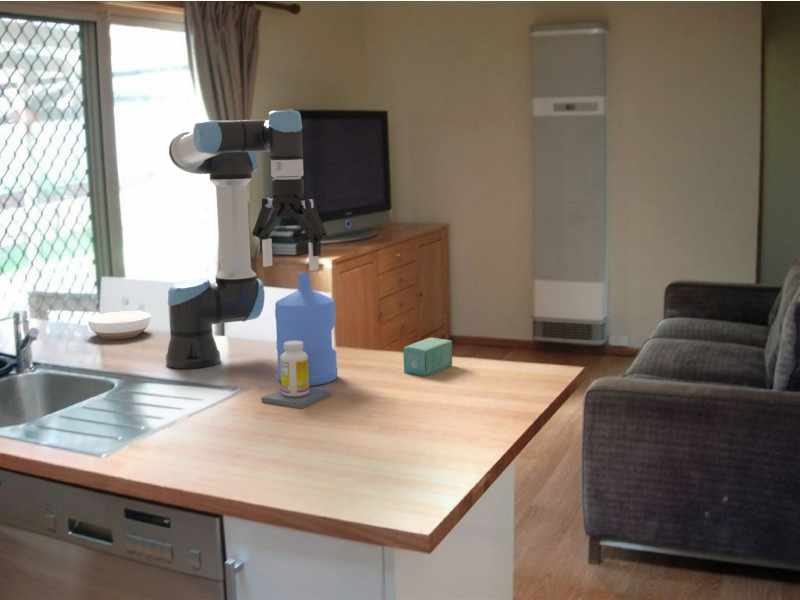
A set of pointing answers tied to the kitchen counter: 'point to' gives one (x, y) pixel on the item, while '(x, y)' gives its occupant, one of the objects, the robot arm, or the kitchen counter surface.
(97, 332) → the bowl
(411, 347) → the box
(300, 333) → the water jug
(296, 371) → the supplement bottle
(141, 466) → the kitchen counter surface
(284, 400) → the coaster
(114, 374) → the kitchen counter surface
